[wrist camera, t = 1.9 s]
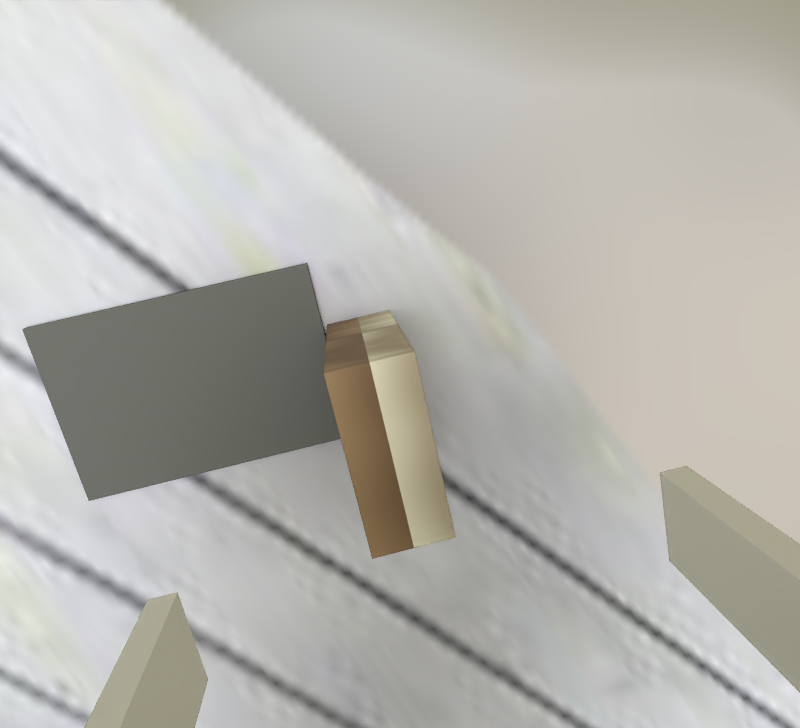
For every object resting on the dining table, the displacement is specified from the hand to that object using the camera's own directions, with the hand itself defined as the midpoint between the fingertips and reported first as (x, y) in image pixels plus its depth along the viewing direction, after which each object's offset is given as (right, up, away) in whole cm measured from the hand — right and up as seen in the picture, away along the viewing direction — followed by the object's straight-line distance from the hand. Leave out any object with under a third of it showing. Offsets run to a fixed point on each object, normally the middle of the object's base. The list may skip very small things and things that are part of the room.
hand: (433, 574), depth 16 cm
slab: (-2, +4, +18) cm, 19 cm away
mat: (-12, +5, +17) cm, 21 cm away
